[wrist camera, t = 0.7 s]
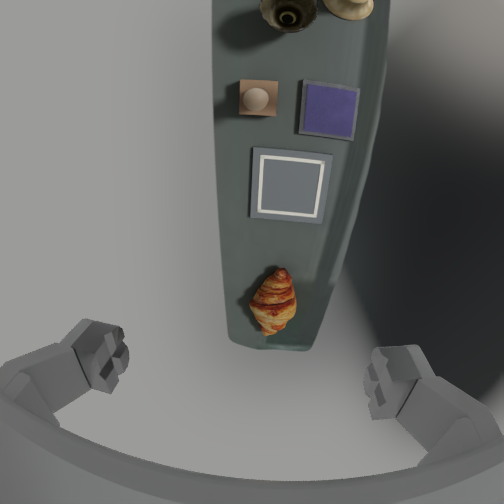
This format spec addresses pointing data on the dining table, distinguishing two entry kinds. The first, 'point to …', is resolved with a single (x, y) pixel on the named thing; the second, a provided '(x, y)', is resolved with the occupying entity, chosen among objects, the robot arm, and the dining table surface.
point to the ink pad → (328, 110)
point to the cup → (289, 3)
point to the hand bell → (350, 8)
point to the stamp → (258, 97)
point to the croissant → (274, 302)
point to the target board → (289, 184)
